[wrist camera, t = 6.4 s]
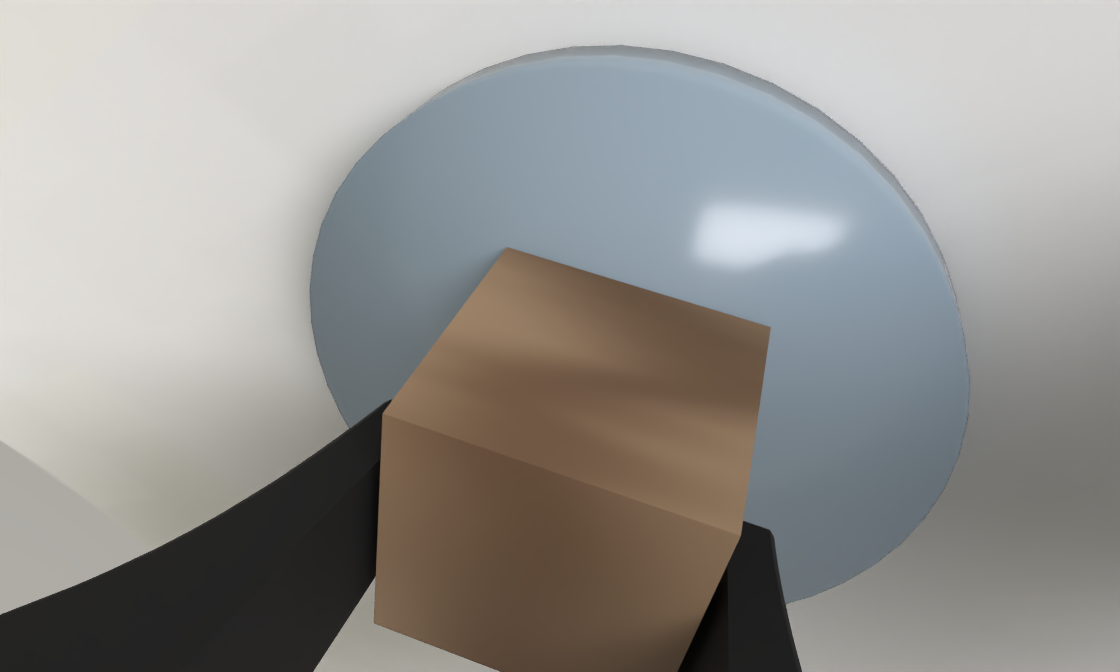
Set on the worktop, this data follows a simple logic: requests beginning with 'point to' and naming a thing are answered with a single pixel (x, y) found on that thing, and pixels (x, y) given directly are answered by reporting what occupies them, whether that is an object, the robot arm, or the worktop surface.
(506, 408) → the walnut block
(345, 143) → the worktop surface
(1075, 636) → the worktop surface
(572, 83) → the slate dish
